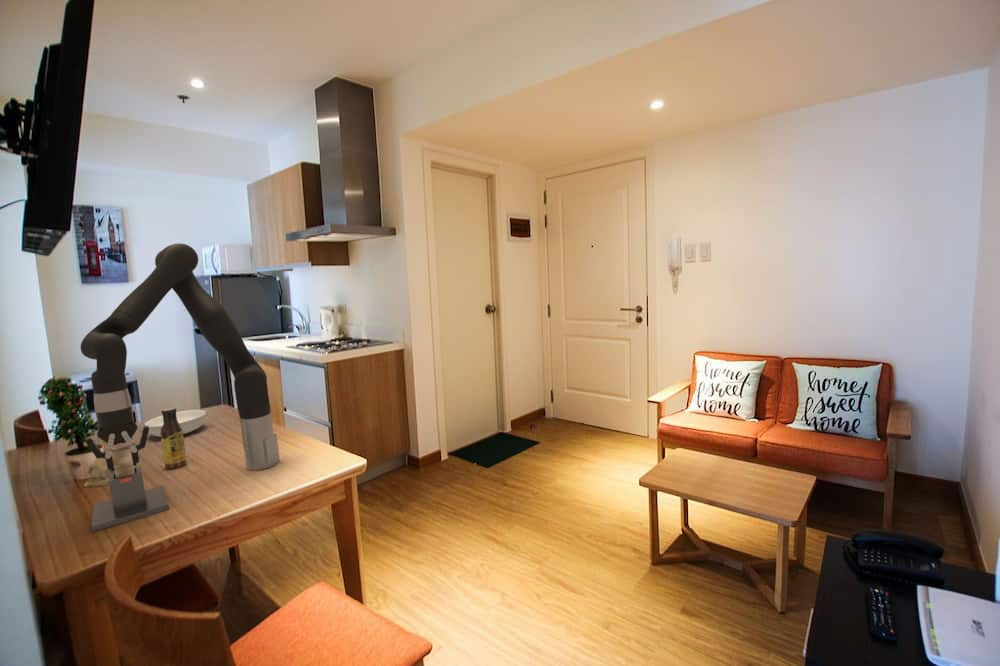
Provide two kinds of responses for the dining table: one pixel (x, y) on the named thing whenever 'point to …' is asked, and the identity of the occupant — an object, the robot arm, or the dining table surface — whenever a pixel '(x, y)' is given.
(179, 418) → the serving bowl
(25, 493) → the dining table surface
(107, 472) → the ceramic model
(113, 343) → the robot arm
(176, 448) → the sauce bottle
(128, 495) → the graphite stand
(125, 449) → the ash post
